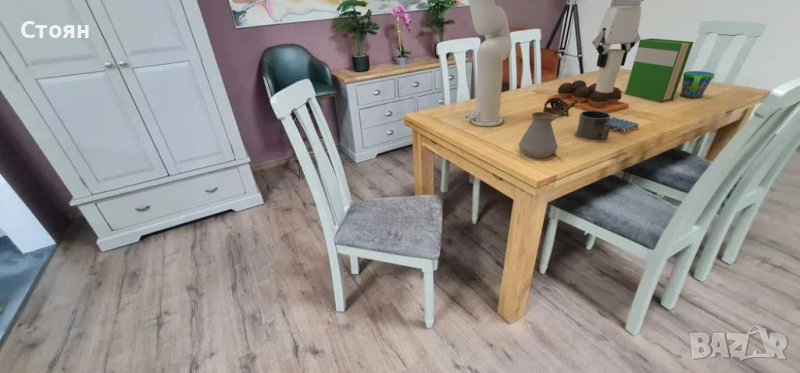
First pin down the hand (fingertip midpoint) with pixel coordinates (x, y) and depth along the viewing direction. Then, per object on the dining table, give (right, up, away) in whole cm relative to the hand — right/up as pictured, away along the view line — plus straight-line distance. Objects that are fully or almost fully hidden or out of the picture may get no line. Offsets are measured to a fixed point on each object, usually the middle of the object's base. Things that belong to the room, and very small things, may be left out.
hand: (610, 65), depth 107 cm
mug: (0, -22, +10) cm, 24 cm away
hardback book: (+48, +3, +48) cm, 68 cm away
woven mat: (+13, -17, +17) cm, 27 cm away
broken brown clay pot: (-2, -9, +34) cm, 35 cm away
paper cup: (0, -7, +4) cm, 8 cm away
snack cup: (+65, +2, +45) cm, 80 cm away
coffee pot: (-19, -27, +3) cm, 33 cm away
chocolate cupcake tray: (+17, -1, +45) cm, 48 cm away
